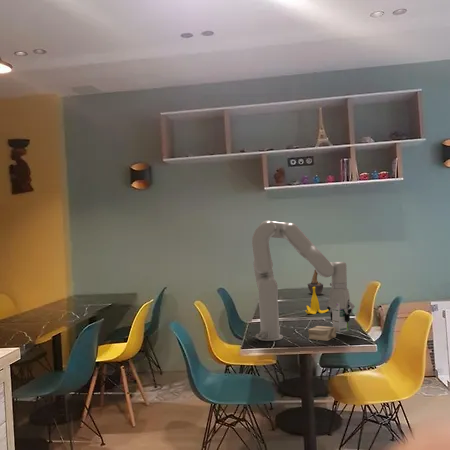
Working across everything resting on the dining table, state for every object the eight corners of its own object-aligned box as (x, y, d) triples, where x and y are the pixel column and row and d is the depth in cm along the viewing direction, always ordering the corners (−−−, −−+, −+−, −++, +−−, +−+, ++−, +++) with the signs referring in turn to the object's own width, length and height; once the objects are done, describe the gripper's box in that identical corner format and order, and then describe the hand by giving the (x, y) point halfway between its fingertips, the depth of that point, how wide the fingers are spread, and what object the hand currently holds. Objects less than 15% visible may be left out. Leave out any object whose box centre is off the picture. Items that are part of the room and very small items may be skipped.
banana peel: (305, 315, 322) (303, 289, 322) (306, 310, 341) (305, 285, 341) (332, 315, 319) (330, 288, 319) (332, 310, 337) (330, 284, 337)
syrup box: (339, 332, 259) (339, 303, 259) (332, 330, 264) (331, 301, 264) (348, 331, 261) (348, 302, 261) (341, 329, 266) (340, 301, 266)
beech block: (327, 341, 251) (326, 331, 251) (309, 339, 257) (308, 329, 257) (336, 337, 259) (335, 327, 259) (317, 335, 265) (317, 325, 265)
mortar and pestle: (322, 296, 401) (320, 270, 401) (302, 295, 410) (300, 270, 410) (329, 293, 413) (327, 268, 413) (309, 293, 422) (308, 268, 423)
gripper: (320, 285, 266) (321, 320, 266) (351, 287, 254) (351, 323, 254) (328, 284, 271) (329, 317, 271) (358, 286, 259) (359, 321, 259)
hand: (340, 320), depth 262 cm, fingers closed on syrup box, 7 cm apart
